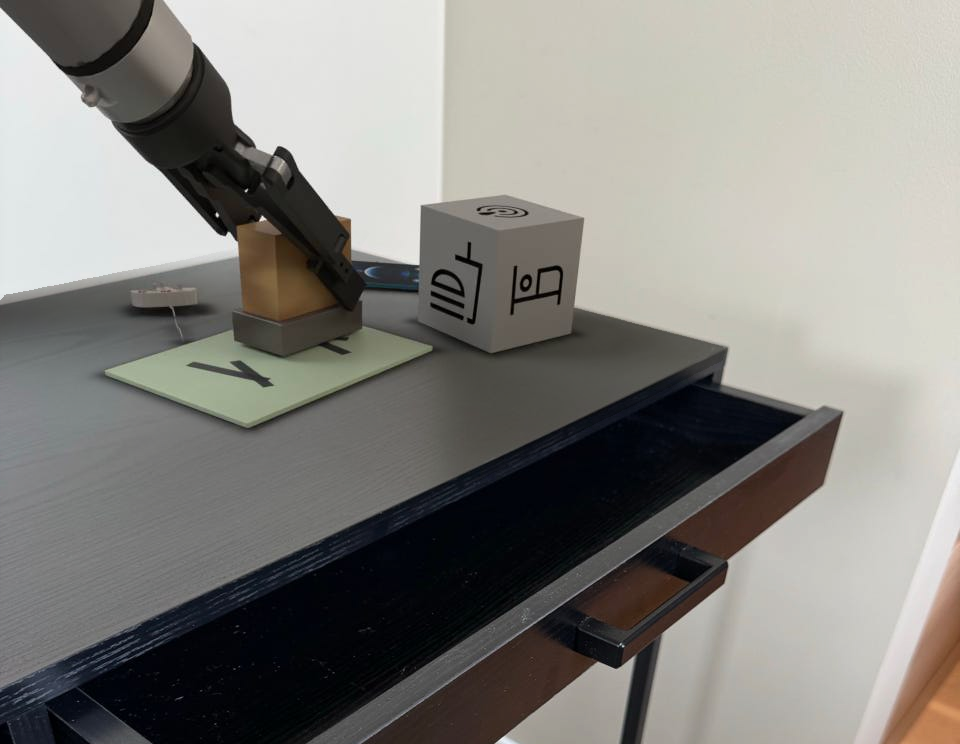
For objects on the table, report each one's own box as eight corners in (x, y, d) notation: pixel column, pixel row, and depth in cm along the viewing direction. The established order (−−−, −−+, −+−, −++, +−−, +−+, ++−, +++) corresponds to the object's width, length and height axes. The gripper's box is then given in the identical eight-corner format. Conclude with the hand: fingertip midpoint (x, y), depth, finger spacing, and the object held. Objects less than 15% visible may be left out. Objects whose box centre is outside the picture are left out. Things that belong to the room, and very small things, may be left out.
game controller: (183, 296, 91) (180, 268, 89) (243, 333, 84) (241, 302, 83) (124, 305, 88) (120, 275, 86) (182, 343, 81) (178, 312, 79)
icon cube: (490, 353, 83) (499, 230, 78) (418, 321, 89) (420, 205, 84) (571, 333, 89) (584, 217, 83) (497, 304, 95) (505, 194, 89)
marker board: (105, 375, 74) (104, 369, 74) (301, 311, 90) (301, 307, 89) (247, 428, 68) (247, 422, 68) (432, 350, 83) (432, 345, 83)
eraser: (233, 341, 80) (224, 225, 75) (314, 315, 87) (311, 208, 82) (283, 356, 78) (277, 238, 73) (362, 329, 85) (362, 219, 80)
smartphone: (441, 287, 96) (289, 276, 96) (441, 293, 97) (290, 282, 96) (443, 266, 103) (301, 256, 102) (443, 272, 103) (301, 262, 102)
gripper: (31, 111, 66) (230, 304, 87) (226, 151, 58) (394, 353, 79) (83, 18, 67) (268, 232, 87) (283, 45, 59) (434, 273, 80)
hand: (328, 289), depth 83 cm, fingers closed on eraser, 5 cm apart
